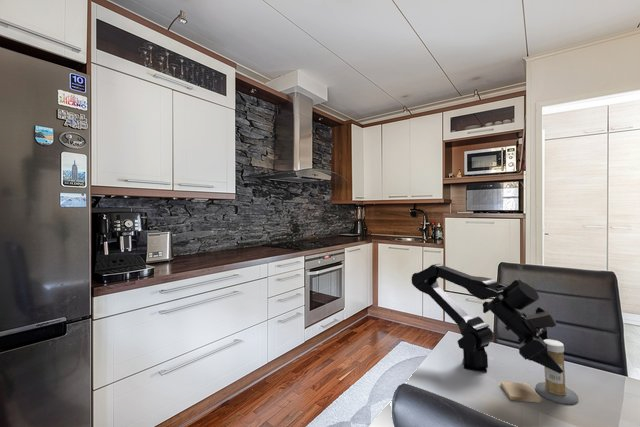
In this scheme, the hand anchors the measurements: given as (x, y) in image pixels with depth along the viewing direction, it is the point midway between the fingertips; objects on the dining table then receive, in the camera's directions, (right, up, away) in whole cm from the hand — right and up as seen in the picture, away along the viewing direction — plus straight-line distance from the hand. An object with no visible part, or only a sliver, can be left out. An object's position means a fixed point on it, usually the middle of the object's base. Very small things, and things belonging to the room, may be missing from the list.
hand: (561, 365), depth 78 cm
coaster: (-1, -8, +1) cm, 8 cm away
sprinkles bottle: (-1, -8, +1) cm, 8 cm away
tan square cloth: (-10, -9, +1) cm, 13 cm away
